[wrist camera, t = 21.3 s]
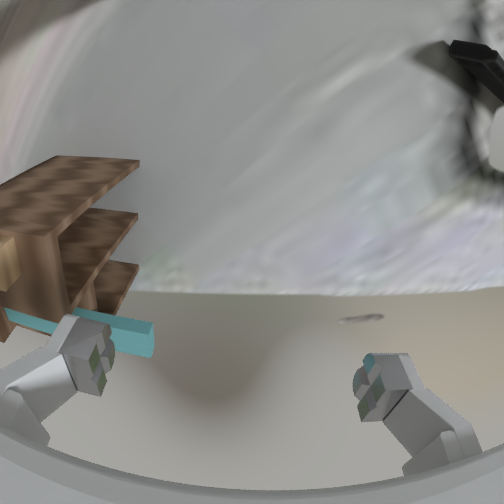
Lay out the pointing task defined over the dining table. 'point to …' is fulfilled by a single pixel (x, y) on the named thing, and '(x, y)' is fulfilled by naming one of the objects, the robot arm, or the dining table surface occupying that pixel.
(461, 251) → the dining table surface
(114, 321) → the slat
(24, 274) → the rack
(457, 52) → the magazine
